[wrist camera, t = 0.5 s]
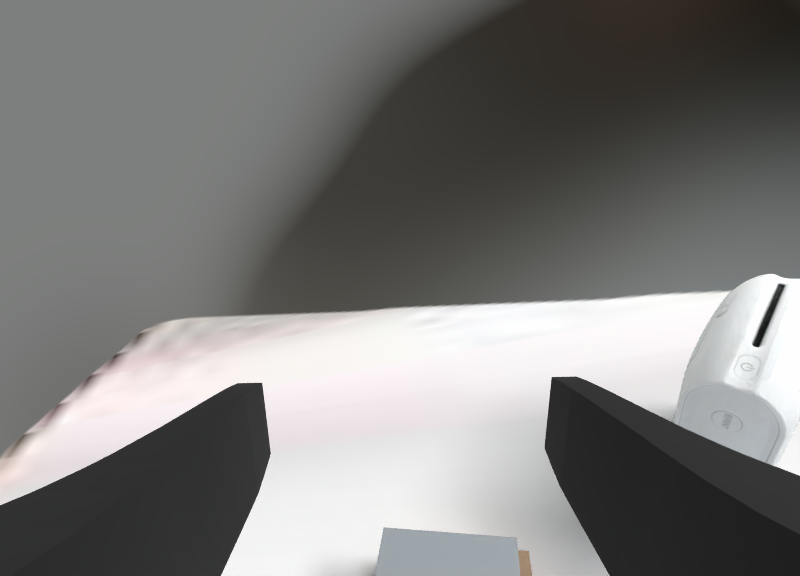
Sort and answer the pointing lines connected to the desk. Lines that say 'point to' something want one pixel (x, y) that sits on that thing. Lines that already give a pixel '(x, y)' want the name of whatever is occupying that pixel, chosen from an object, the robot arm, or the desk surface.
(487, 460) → the desk surface
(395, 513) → the desk surface
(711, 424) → the photo printer
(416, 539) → the grey slab
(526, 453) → the desk surface
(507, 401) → the desk surface
